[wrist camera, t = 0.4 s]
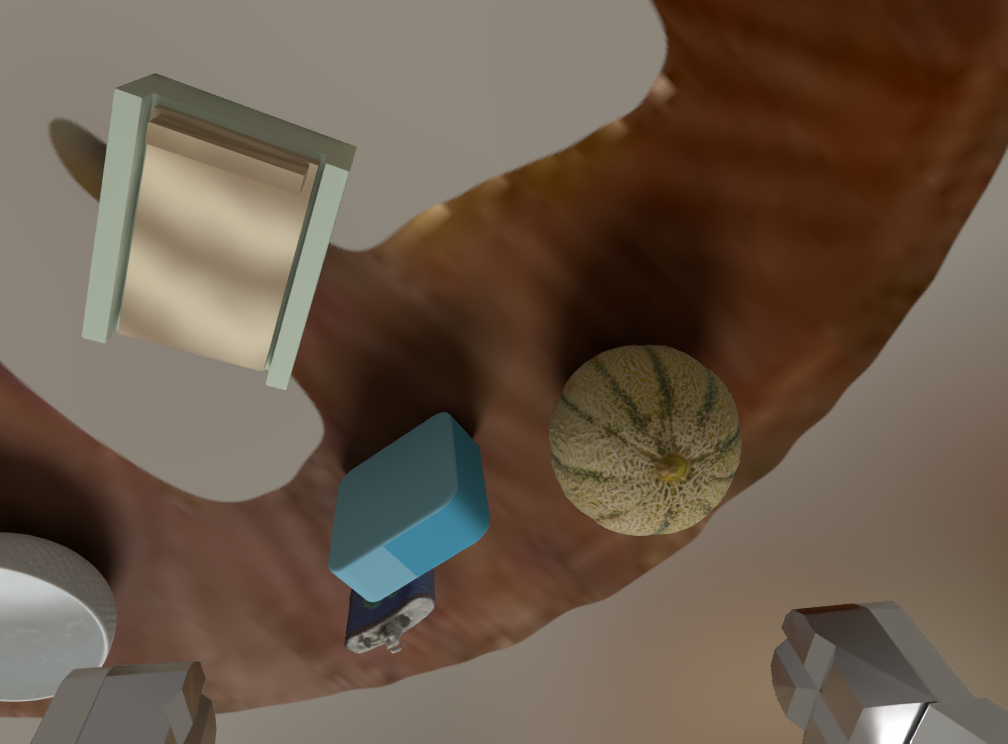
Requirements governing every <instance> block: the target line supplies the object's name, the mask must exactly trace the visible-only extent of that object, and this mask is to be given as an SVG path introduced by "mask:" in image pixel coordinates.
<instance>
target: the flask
mask: <svg viewBox="0 0 1008 744" xmlns="http://www.w3.org/2000/svg"><path fill="white" fill-rule="evenodd" d="M435 605H436V602H435V585H434V568H432V569H431V570H429V571H428V572H426V573H424V574H423V575H421V576H419V577H418V578H416V579H414V580H413V581H411V582H409V583H408V584H406V585H404V586H403V587H401V588H399V589H398V590H396V591H394V592H393V593H391V594H390V595H388V596H386V597H385V598H383V599H381V600H379V601H376V602H369V601H367V600H366V599H365V598H363V597H362V596H361V595H360V594H358V593H357V592H356V591H355V590H353V589H352V590H351V595H350V603H349V616H348V622H347V627H346V628H347V630H346V637H345V643H344V645H345V647H346V648H347V649H349V650H351V651H353V652H356V653H362V652H366V651H369V650H371V649H372V648H375V647H377V646H380V645H383V644H386V645H387V649H390V648H393V647H394V646H397V645H398V644H399V639H400V637H401V636H402V634H403V633H405V632H406V631H407V630H409V629H410V628H412V627H413V626H415V625H416V624H417V623H418V622H419V621H421V620H422V619H423V618H425V617H426V616H427V615H428V614H429V613H430V612H432V610H433V609H434V607H435ZM402 645H403V646H404V645H405V643H403V644H402ZM400 650H401V647H397V648H395V649H393V650H391V653H395V652H398V651H400Z"/></svg>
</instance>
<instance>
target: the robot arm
mask: <svg viewBox="0 0 1008 744" xmlns="http://www.w3.org/2000/svg"><path fill="white" fill-rule="evenodd" d="M782 629H783V631H784V633H785V635H786V636H787V639H786V640H785V641H784V642H782V643H781V644H780V645H779V646H778V647H777V648H776V649H775V651H774V655H773V658H772V662H771V673H772V683H773V687H774V690H775V694H776V696H777V700H778V702H779V704H780V706H781V708H782V710H783V712H784V714H785V716H786V717H787V718H788V719H789V720H791V721H792V722H794V723H795V724H796V725H797V726H799V727H800V728H801V729H803V730H804V735H803V742H802V744H1008V711H1006V710H1005V709H1003V708H1001V707H1000V706H998V705H997V704H995V703H993V702H992V701H990V700H988V699H987V698H979V699H976V698H975V697H974V696H973V695H972V694H971V692H970V691H969V690H968V688H967V687H966V686H965V685H964V684H963V682H962V681H961V680H960V679H959V677H958V676H957V675H956V674H955V672H954V671H953V670H952V669H951V668H950V666H949V665H948V664H947V662H946V661H945V660H944V659H943V658H942V656H941V655H940V654H939V653H938V651H937V650H936V649H935V648H934V646H933V645H932V644H931V643H930V641H929V640H928V639H927V638H926V637H925V635H924V634H923V633H922V632H921V630H920V629H919V628H918V627H917V625H916V624H915V623H914V622H913V620H912V619H911V618H910V617H909V616H908V614H907V613H906V612H905V611H904V609H903V608H902V607H900V606H899V605H897V604H896V603H894V602H893V601H886V602H875V603H862V604H843V605H833V606H823V607H813V608H803V609H794V610H791V611H790V612H789V613H788V614H787V615H786V616H785V619H784V622H783V625H782ZM205 679H206V677H205V674H204V671H203V668H202V665H201V662H200V661H191V662H174V663H157V664H140V665H122V666H109V667H95V668H82V669H73V670H72V671H71V672H70V673H69V674H68V675H67V676H66V677H65V678H64V679H63V681H62V682H61V683H60V685H59V687H58V689H57V691H56V693H55V695H54V697H53V699H52V701H51V703H50V705H49V707H48V709H47V711H46V713H45V715H44V717H43V719H42V721H41V723H40V725H39V727H38V729H37V731H36V733H35V735H34V737H33V739H32V741H31V743H30V744H215V739H216V718H215V710H214V706H213V702H212V700H211V699H209V698H208V697H206V696H205V695H203V694H202V690H203V686H204V682H205Z"/></svg>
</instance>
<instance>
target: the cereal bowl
mask: <svg viewBox="0 0 1008 744" xmlns="http://www.w3.org/2000/svg"><path fill="white" fill-rule="evenodd" d="M116 623H117V611H116V604H115V599H114V597H113V593H112V591H111V589H110V586H109V585H108V584H107V581H106V580H105V579H104V578H103V576H102V574H101V573H100V572H99V571H98V570H97V569H96V568H95V567H94V566H93V565H92V564H91V563H90V562H89V561H87V560H86V559H84V558H83V557H82V556H81V555H79V554H77V553H76V552H74V551H73V550H70V549H68V548H67V547H64V546H62V545H60V544H58V543H55V542H52V541H50V540H46V539H42V538H39V537H35V536H30V535H24V534H17V533H2V532H0V701H29V700H39V699H44V698H49V697H53V696H54V695H55V693H56V691H57V689H58V687H59V685H60V683H61V682H62V681H63V679H64V678H65V677H66V676H67V675H68V674H69V673H70V672H71V671H72V670H73V669H82V668H95V667H102V665H103V664H104V662H105V660H106V658H107V656H108V653H109V650H110V648H111V645H112V642H113V639H114V634H115V631H116Z"/></svg>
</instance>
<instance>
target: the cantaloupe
mask: <svg viewBox="0 0 1008 744" xmlns="http://www.w3.org/2000/svg"><path fill="white" fill-rule="evenodd" d="M731 397H732V395H731V393H730V392H729V391H728V389H727V387H726V386H725V385H724V384H723V382H722V381H721V380H720V379H719V378H718V377H717V376H716V375H715V374H714V373H713V372H712V371H710V370H708V369H707V368H706V367H704V366H703V365H702V364H701V363H699V362H698V361H697V360H695V359H694V358H692V357H691V356H690V355H688V354H686V353H683V352H680V351H678V350H676V349H674V348H671V347H667V346H659V345H644V346H637V345H630V346H622V347H618V348H615V349H610V350H607V351H605V352H602V353H600V354H599V355H597V356H595V357H594V358H592V359H591V360H589V361H587V362H586V363H585V364H583V365H582V366H581V367H580V368H578V370H577V371H576V372H575V373H574V374H573V375H572V376H571V377H570V379H569V380H568V381H567V382H566V384H565V386H564V388H563V390H562V393H561V395H560V396H559V398H558V399H557V401H556V402H555V407H554V409H553V412H552V415H551V418H550V424H549V426H550V429H549V441H550V446H551V461H552V466H553V468H554V473H555V475H556V477H557V480H558V482H559V484H560V485H561V488H562V489H563V491H564V493H565V495H566V497H567V498H568V499H569V500H570V501H571V502H572V503H573V504H574V505H575V506H576V507H577V508H578V509H579V510H580V511H582V512H583V513H585V514H586V515H588V516H589V517H591V518H592V519H594V520H595V521H596V522H597V523H598V524H600V525H602V526H603V527H605V528H607V529H609V530H612V531H615V532H619V533H623V534H628V535H637V536H647V535H651V534H668V533H674V532H677V531H680V530H684V529H686V528H688V527H691V526H693V525H694V524H696V523H698V522H699V521H700V520H702V519H703V518H704V517H705V516H706V515H707V514H708V513H709V512H710V511H711V510H712V509H713V508H714V507H715V506H716V505H718V504H719V502H720V501H721V500H722V497H723V496H724V495H725V494H726V491H727V489H728V488H729V486H730V484H731V482H732V479H733V476H734V473H735V470H736V469H737V467H738V464H739V463H740V454H741V438H740V431H739V424H738V413H737V409H736V406H735V403H734V400H733V399H732V398H731Z"/></svg>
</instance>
